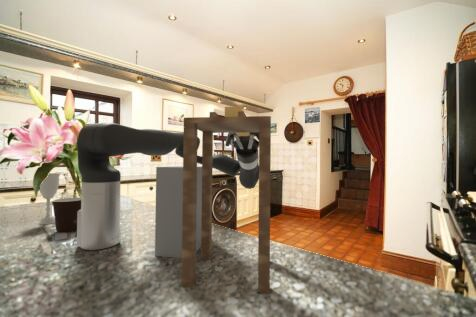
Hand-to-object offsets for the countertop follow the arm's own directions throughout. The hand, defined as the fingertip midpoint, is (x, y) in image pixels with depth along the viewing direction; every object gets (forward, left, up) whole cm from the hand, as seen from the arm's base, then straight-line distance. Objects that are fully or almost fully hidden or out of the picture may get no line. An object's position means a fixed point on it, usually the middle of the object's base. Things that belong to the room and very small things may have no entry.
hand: (243, 123), depth 67 cm
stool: (0, -18, -34) cm, 39 cm away
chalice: (-73, +9, -34) cm, 81 cm away
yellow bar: (0, -7, -3) cm, 8 cm away
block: (-15, -6, -34) cm, 38 cm away
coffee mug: (-58, +4, -34) cm, 68 cm away
